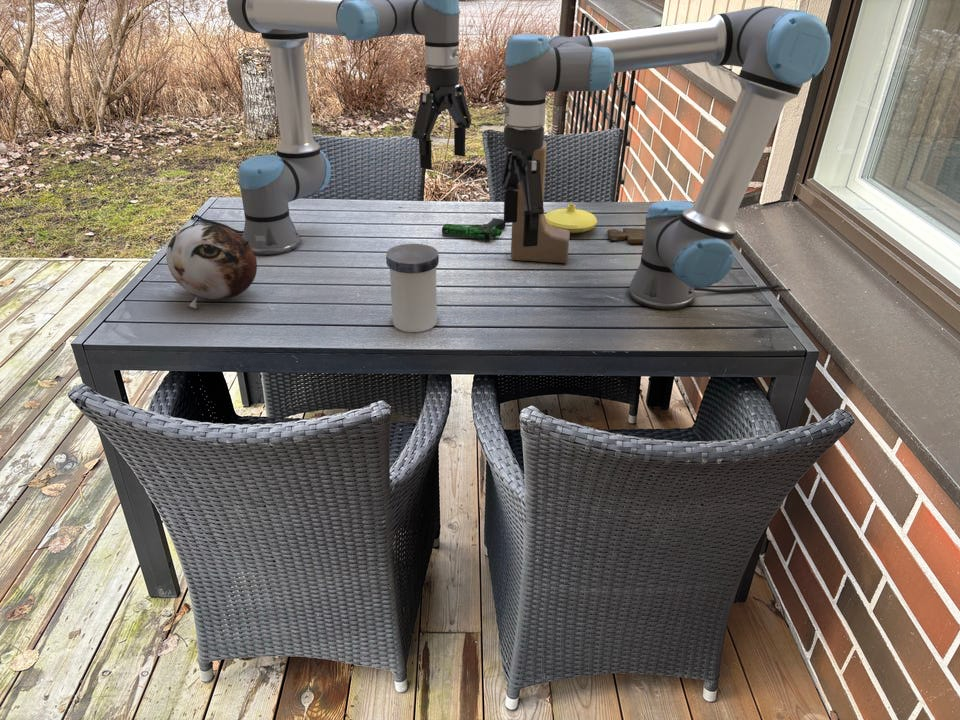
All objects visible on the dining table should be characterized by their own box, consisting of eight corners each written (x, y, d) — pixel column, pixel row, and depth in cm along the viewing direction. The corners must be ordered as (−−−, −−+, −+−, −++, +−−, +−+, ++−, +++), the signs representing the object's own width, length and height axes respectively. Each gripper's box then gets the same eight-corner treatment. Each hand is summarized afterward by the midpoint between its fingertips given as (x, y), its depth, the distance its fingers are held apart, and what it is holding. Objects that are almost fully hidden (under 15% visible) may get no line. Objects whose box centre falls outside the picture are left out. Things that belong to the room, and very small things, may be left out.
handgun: (511, 219, 210) (493, 234, 198) (511, 228, 211) (492, 244, 199) (461, 212, 215) (440, 226, 203) (461, 221, 217) (440, 236, 204)
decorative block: (567, 264, 188) (576, 149, 173) (510, 260, 190) (514, 146, 174) (568, 253, 194) (577, 141, 179) (513, 250, 196) (517, 138, 181)
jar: (394, 333, 155) (390, 265, 146) (391, 313, 163) (387, 247, 155) (439, 330, 156) (438, 262, 148) (433, 310, 164) (432, 245, 156)
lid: (388, 275, 147) (387, 265, 146) (384, 254, 156) (384, 245, 155) (441, 271, 148) (441, 261, 147) (435, 251, 158) (434, 242, 157)
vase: (559, 216, 220) (561, 193, 217) (605, 227, 212) (608, 204, 209) (532, 230, 209) (533, 207, 206) (580, 242, 201) (582, 218, 198)
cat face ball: (130, 285, 161) (164, 203, 163) (192, 308, 177) (221, 233, 178) (195, 307, 151) (229, 220, 152) (254, 330, 166) (285, 250, 168)
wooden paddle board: (702, 246, 201) (693, 234, 209) (703, 241, 200) (694, 228, 208) (610, 243, 201) (606, 231, 210) (611, 237, 200) (606, 225, 209)
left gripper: (421, 75, 148) (424, 176, 159) (486, 61, 166) (485, 153, 177) (393, 71, 151) (397, 171, 162) (460, 58, 169) (460, 148, 180)
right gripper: (487, 112, 143) (486, 214, 154) (524, 143, 122) (520, 258, 133) (523, 110, 145) (519, 211, 155) (566, 140, 124) (558, 255, 135)
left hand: (443, 161), depth 169 cm, fingers open, 13 cm apart
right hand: (519, 233), depth 144 cm, fingers open, 13 cm apart
